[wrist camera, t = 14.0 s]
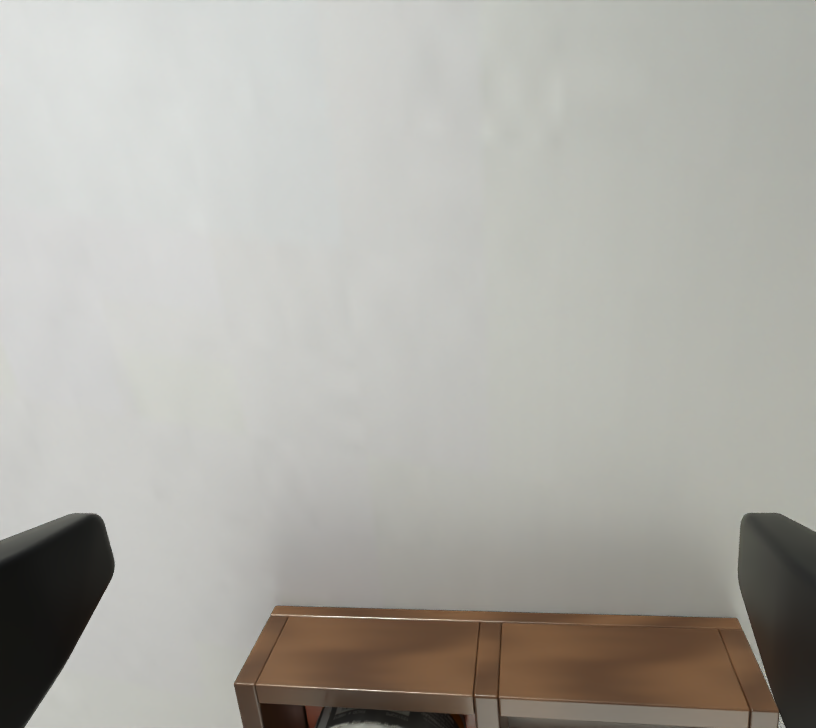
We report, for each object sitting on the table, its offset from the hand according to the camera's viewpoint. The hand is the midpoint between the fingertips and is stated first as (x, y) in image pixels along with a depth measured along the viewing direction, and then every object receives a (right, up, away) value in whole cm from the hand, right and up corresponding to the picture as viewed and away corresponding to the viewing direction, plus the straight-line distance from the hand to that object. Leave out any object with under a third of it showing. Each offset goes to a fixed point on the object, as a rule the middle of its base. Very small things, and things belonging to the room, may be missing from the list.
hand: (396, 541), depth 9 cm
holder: (+4, -11, +17) cm, 21 cm away
